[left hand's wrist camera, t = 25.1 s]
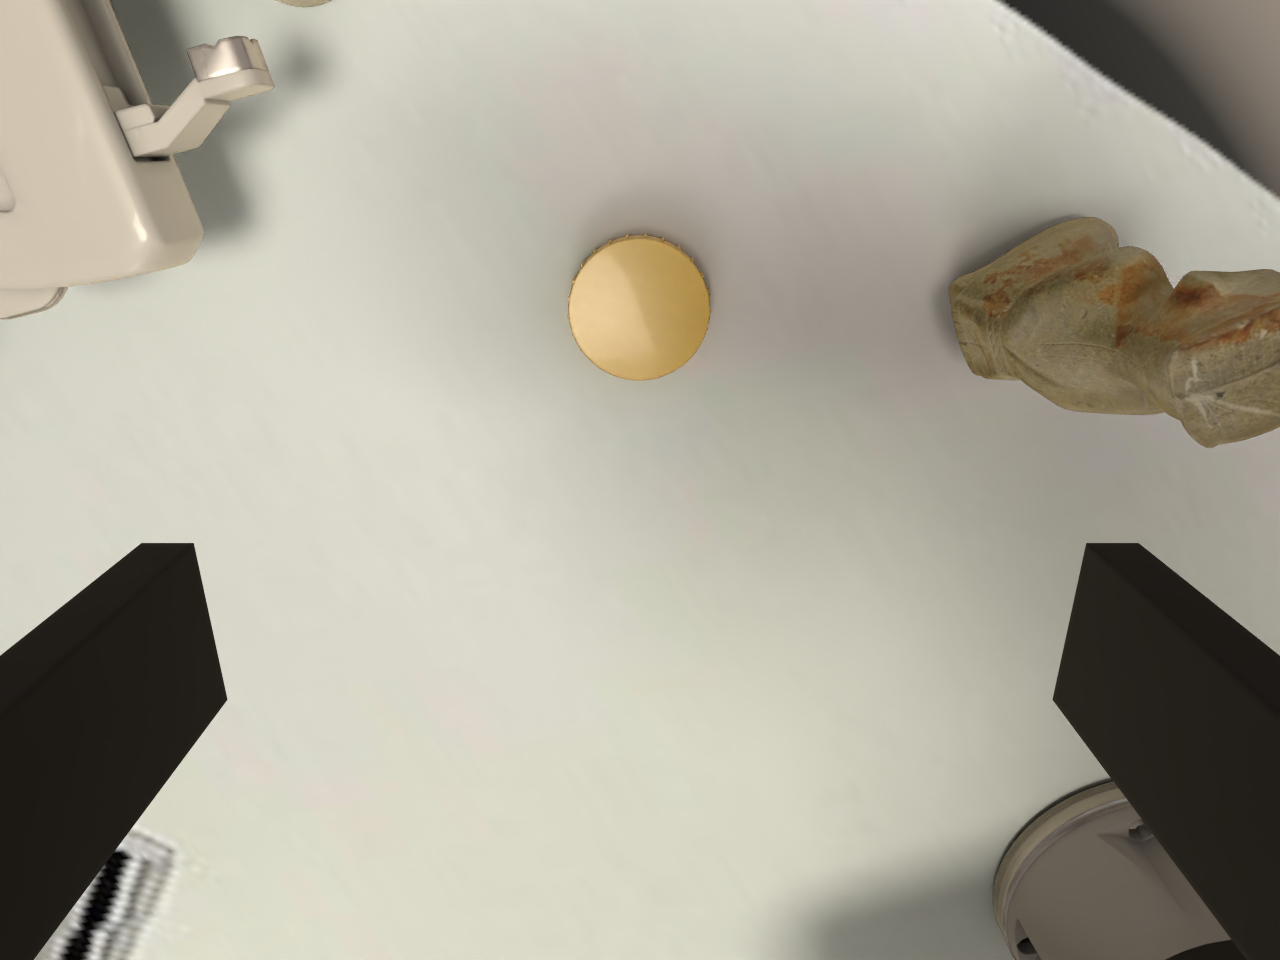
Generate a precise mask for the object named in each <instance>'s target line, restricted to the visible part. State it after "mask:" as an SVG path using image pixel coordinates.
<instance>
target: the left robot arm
mask: <svg viewBox="0 0 1280 960" xmlns="http://www.w3.org/2000/svg"><path fill="white" fill-rule="evenodd" d="M226 701H227V696H226V691H225V686H224V682H223V677H222V673H221V668H220V663H219V659H218V654H217V649H216V645H215V640H214V635H213V631H212V626H211V622H210V617H209V612H208V608H207V603H206V598H205V594H204V589H203V584H202V580H201V575H200V571H199V566H198V561H197V557H196V552H195V547H194V543H141V544H140V545H139V546H137V547H136V548H135V549H134V550H132V551H131V552H130V553H129V554H127V555H126V556H125V557H124V558H122V559H121V560H120V561H119V562H117V563H116V564H115V565H114V566H112V567H111V568H110V569H109V570H107V571H106V572H105V573H104V574H102V575H101V576H100V577H99V578H97V579H96V580H95V581H94V582H92V583H91V584H90V585H88V586H87V587H86V588H85V589H83V590H82V591H81V592H80V593H78V594H77V595H76V596H75V597H73V598H72V599H71V600H70V601H68V602H67V603H66V604H65V605H63V606H62V607H61V608H60V609H58V610H57V611H56V612H55V613H53V614H52V615H51V616H50V617H48V618H47V619H46V620H45V621H43V622H42V623H41V624H40V625H38V626H37V627H36V628H35V629H33V630H32V631H31V632H30V633H28V634H27V635H26V636H25V637H23V638H22V639H21V640H20V641H18V642H17V643H16V644H14V645H13V646H12V647H11V648H9V649H8V650H7V651H6V652H4V653H3V654H2V655H1V656H0V960H34V958H35V957H36V956H37V954H38V953H39V952H40V950H41V949H42V948H43V946H44V945H45V944H46V942H47V941H48V940H49V938H50V937H51V936H52V934H53V933H54V932H55V930H56V929H57V928H58V926H59V925H60V924H61V922H62V921H63V920H64V918H65V917H66V916H67V914H68V913H69V911H70V910H71V909H72V907H73V906H74V905H75V903H76V902H77V901H78V899H79V898H80V897H81V895H82V894H83V893H84V891H85V890H86V889H87V887H88V886H89V885H90V883H91V882H92V881H93V879H94V878H95V877H96V875H97V874H98V873H99V871H100V870H101V869H102V867H103V866H104V865H105V863H106V862H107V860H108V859H109V858H110V856H111V855H112V854H113V852H114V851H115V850H116V848H117V847H118V846H119V844H120V843H121V842H122V840H123V839H124V838H125V836H126V835H127V834H128V832H129V831H130V830H131V828H132V827H133V826H134V824H135V823H136V822H137V820H138V819H139V818H140V816H141V815H142V814H143V812H144V811H145V809H146V808H147V807H148V805H149V804H150V803H151V801H152V800H153V799H154V797H155V796H156V795H157V793H158V792H159V791H160V789H161V788H162V787H163V785H164V784H165V783H166V781H167V780H168V779H169V777H170V776H171V775H172V773H173V772H174V771H175V769H176V768H177V767H178V765H179V764H180V763H181V761H182V760H183V758H184V757H185V756H186V754H187V753H188V752H189V750H190V749H191V748H192V746H193V745H194V744H195V742H196V741H197V740H198V738H199V737H200V736H201V734H202V733H203V732H204V730H205V729H206V728H207V726H208V725H209V724H210V722H211V721H212V720H213V718H214V717H215V716H216V714H217V713H218V712H219V710H220V709H221V707H222V706H223V705H224V703H225V702H226ZM1053 701H1054V702H1055V703H1056V705H1057V706H1058V707H1059V709H1060V710H1061V712H1062V713H1063V714H1064V716H1065V717H1066V718H1067V720H1068V721H1069V722H1070V724H1071V725H1072V726H1073V728H1074V729H1075V730H1076V732H1077V733H1078V734H1079V736H1080V737H1081V738H1082V740H1083V741H1084V742H1085V744H1086V745H1087V746H1088V748H1089V749H1090V750H1091V752H1092V753H1093V754H1094V756H1095V757H1096V758H1097V760H1098V761H1099V763H1100V764H1101V765H1102V767H1103V768H1104V769H1105V771H1106V772H1107V773H1108V775H1109V776H1110V777H1111V779H1112V780H1113V782H1109V783H1105V784H1102V785H1099V786H1096V787H1093V788H1090V789H1087V790H1085V791H1083V792H1080V793H1078V794H1076V795H1073V796H1071V797H1070V798H1068V799H1066V800H1064V801H1062V802H1060V803H1059V804H1057V805H1055V806H1054V807H1052V808H1051V809H1049V810H1048V811H1046V812H1045V813H1044V814H1042V815H1041V816H1039V817H1038V818H1037V819H1036V820H1035V821H1034V822H1032V823H1031V824H1030V825H1029V826H1028V827H1027V828H1026V829H1025V830H1024V831H1023V832H1022V833H1021V834H1020V835H1019V837H1018V838H1017V839H1016V840H1015V841H1014V843H1013V844H1012V845H1011V847H1010V848H1009V850H1008V851H1007V853H1006V855H1005V857H1004V858H1003V860H1002V862H1001V864H1000V867H999V869H998V872H997V875H996V879H995V883H994V890H993V906H994V912H995V916H996V920H997V922H998V925H999V927H1000V929H1001V931H1002V934H1003V936H1004V938H1005V940H1006V942H1007V944H1008V947H1009V949H1010V951H1011V953H1012V955H1013V957H1014V959H1015V960H1280V656H1279V655H1278V654H1277V653H1276V652H1274V651H1273V650H1272V649H1271V648H1269V647H1268V646H1267V645H1266V644H1264V643H1263V642H1262V641H1260V640H1259V639H1258V638H1257V637H1255V636H1254V635H1253V634H1252V633H1250V632H1249V631H1248V630H1247V629H1245V628H1244V627H1243V626H1242V625H1240V624H1239V623H1238V622H1237V621H1235V620H1234V619H1233V618H1232V617H1230V616H1229V615H1228V614H1227V613H1225V612H1224V611H1223V610H1222V609H1220V608H1219V607H1218V606H1217V605H1215V604H1214V603H1213V602H1212V601H1210V600H1209V599H1208V598H1207V597H1205V596H1204V595H1203V594H1202V593H1200V592H1199V591H1198V590H1197V589H1195V588H1194V587H1193V586H1192V585H1190V584H1189V583H1188V582H1186V581H1185V580H1184V579H1183V578H1181V577H1180V576H1179V575H1178V574H1176V573H1175V572H1174V571H1173V570H1171V569H1170V568H1169V567H1168V566H1166V565H1165V564H1164V563H1163V562H1161V561H1160V560H1159V559H1158V558H1156V557H1155V556H1154V555H1153V554H1151V553H1150V552H1149V551H1148V550H1146V549H1145V548H1144V547H1143V546H1141V545H1140V544H1139V543H1086V547H1085V552H1084V557H1083V561H1082V566H1081V571H1080V575H1079V580H1078V584H1077V589H1076V594H1075V598H1074V603H1073V608H1072V612H1071V617H1070V622H1069V626H1068V631H1067V635H1066V640H1065V645H1064V649H1063V654H1062V659H1061V663H1060V668H1059V673H1058V677H1057V682H1056V686H1055V691H1054V696H1053Z"/></svg>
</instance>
